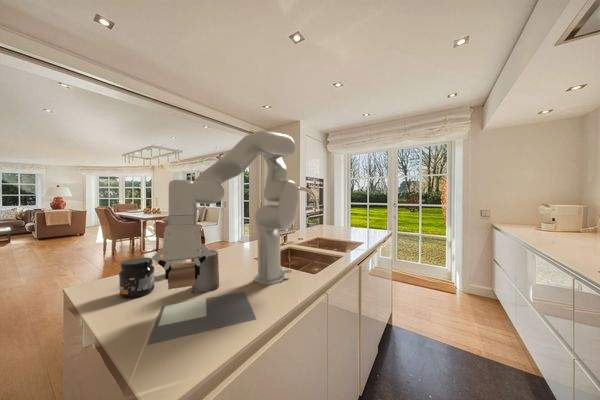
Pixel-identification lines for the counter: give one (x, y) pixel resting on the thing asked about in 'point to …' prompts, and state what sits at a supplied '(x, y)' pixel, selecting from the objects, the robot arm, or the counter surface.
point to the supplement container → (136, 277)
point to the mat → (201, 316)
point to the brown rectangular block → (181, 275)
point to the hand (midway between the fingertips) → (183, 279)
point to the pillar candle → (207, 274)
